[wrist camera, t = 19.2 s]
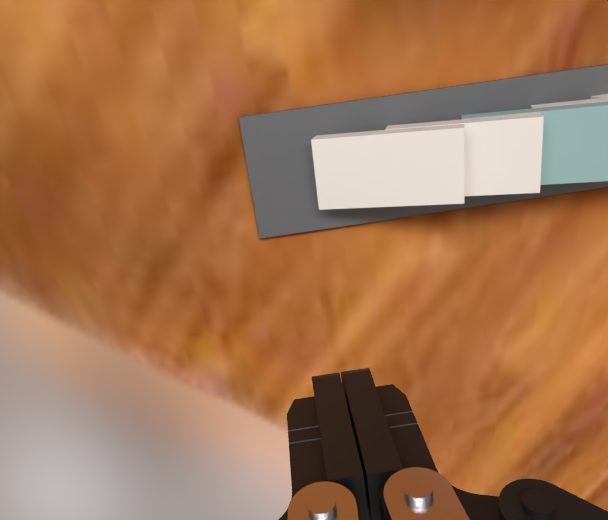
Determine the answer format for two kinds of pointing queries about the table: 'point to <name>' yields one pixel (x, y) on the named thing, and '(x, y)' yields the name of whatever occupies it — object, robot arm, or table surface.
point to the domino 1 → (390, 167)
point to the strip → (377, 116)
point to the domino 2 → (499, 153)
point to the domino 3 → (570, 141)
